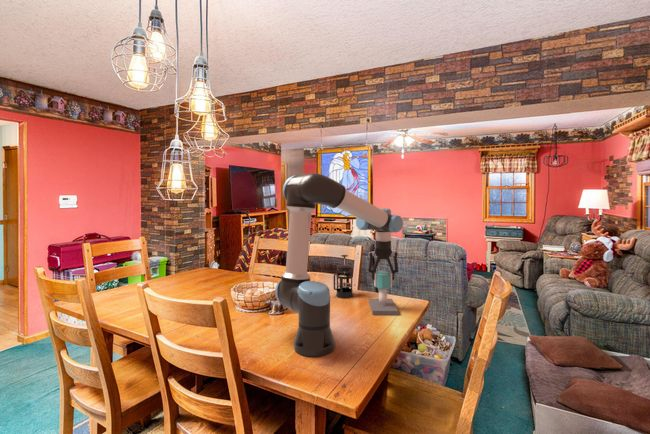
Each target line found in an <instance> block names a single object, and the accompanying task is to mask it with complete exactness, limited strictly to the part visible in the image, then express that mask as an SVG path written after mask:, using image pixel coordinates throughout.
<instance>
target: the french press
mask: <svg viewBox="0 0 650 434" xmlns="http://www.w3.org/2000/svg"><path fill="white" fill-rule="evenodd" d="M340 257H343V259H344V260H343V264H337V265H336V270H337V272H339V273H334V274H333V290H334V291H336V294H335V296H336V298H338V299H351V298H353V297H354V294H353V293H354V292H353V273H351V272H350V273H349V272H348V271H350V270H352V268H353V267H354V266H353V265H352V264H346V261H345V260H346V258H347V257H349V255H348V254H342V255H340Z"/></svg>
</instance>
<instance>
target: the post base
mask: <svg viewBox="0 0 650 434" xmlns="http://www.w3.org/2000/svg"><path fill="white" fill-rule="evenodd" d="M368 304H369V307H370V311H371V315H373V316H399V309H398V307H397V306H396V303H395V302H394V299H393V298H388V289H380V288H378V298H369V299H368Z"/></svg>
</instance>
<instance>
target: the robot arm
mask: <svg viewBox="0 0 650 434" xmlns="http://www.w3.org/2000/svg"><path fill="white" fill-rule="evenodd" d="M282 195H283V198H284V199H285V200H286V208H287V209H288V211H289V221H288V235H287V246H286V248H287V249H286V263H285V271H284V272H282V274H281V276H280V277H281V278H280V280H279V282H278V283H276V286H275V297H276V300H277V302H278V303H279V304H281V306H283V307H284V308H285V309H289V310H290V311H292V312H295V313H296V314H297V315H298V327H297V331H296V334H295V337H294V342H293V349H294V351H295V352H296V353H297V354H299V355H302V356H304V357H311V358H312V357H322V356H326V355H329V354H331V353H332V352H333V351H334V350H335V348H336V345H335V344H336V340H335V338H334V333H333V331H332V328H331V292H330V288H329V286H328V285H327V284H325V283H323V282H320V281H315V280H311V275H310V274H309V273H308V265H309V264H308V262H309V248H310V236H311V235H310V234H311V220H312V214H313V212H314V211H315V210H316V205H317V204H318V205H323V206H326V207H330V208H332V209H336V208H338V209H339V210H342V211H344V212H346V213H348V214H349V215H352V216H354V217H355V225H356V227H357V229H359V230H360V231H367V230H368V231H375V250H374V251H369V252H368V254H369V261H368V269H367V270H368V273H371V279H372V281H373V283H374V285H373V287H374V288H377V287H376V272H377V271H376V270H377V268H378V266H379V263H380V261H381V260H386V262H387V263H388V264H387V265H388V266H389V270H390V275H391V282H390V288H393V281H394V280H395V274H396V273H398V272H399V268H398V267H399V266H398V258H397V257H398V252H397V251H392V241H391V240H392V234H393V233H399V232H400V231H402V229H403V226H404V220H403V218H402V217H401V216H400V215H396V214H392V209H390V208H379V207H378V206H376V205H374V204H373V203H370V202H368V201H367V200H365V199H363V198H362V197H359V196H357V195H356V194H355V193H352V192H350V191H349V190H347V188H346V186H345V185H343V184H342V183H339V182H338V181H336V180H334V179H332V178H330V177H329V176H326V175H325V174H322V173H316V172H312V173H300V174H295V175H292V176H290V177H288V178H287V179H286V180H285V182H284V184H283V186H282ZM375 255H376V260H375V262H374V264H373V260H374V256H375ZM391 255H392V256H393V264H394V265H393V264H392V262H391V259H390V256H391ZM393 266H394V267H393Z"/></svg>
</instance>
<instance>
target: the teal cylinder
mask: <svg viewBox="0 0 650 434" xmlns="http://www.w3.org/2000/svg"><path fill="white" fill-rule="evenodd" d="M375 273H376V287H375V288H377V289H379V288H380V289H387V290H389V289H390V288H391V287H390V282H391V275H390V273H391V271H390V272H389V271H387V270H385V271H384V270H379V271H378V270H377V271H375Z"/></svg>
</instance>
